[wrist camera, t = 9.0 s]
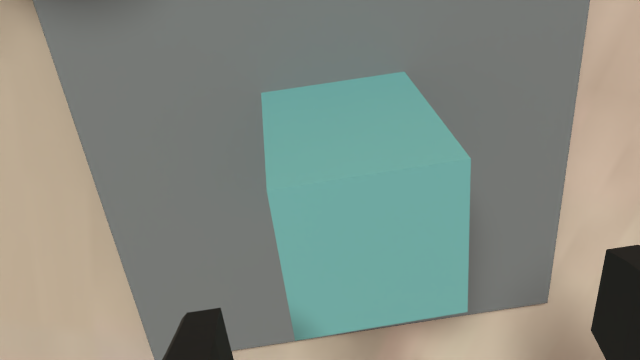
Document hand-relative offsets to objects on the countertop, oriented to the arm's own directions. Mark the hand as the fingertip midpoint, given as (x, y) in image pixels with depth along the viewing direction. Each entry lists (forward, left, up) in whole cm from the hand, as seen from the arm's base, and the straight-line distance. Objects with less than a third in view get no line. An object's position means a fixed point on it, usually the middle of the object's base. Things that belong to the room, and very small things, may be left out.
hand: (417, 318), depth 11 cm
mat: (0, +1, -9) cm, 9 cm away
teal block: (0, +1, -9) cm, 9 cm away
